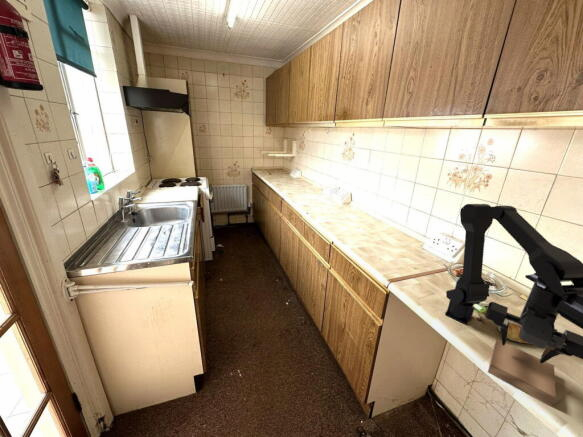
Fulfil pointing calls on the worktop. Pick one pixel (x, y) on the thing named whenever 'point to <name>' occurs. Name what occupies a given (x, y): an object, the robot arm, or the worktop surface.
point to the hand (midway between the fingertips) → (521, 352)
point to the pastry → (514, 332)
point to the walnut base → (523, 372)
